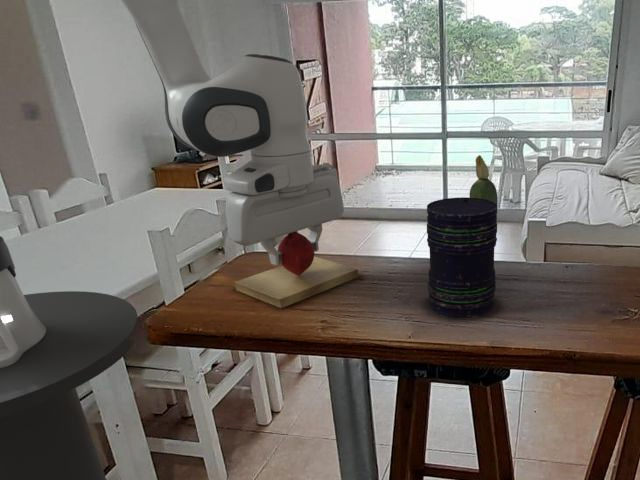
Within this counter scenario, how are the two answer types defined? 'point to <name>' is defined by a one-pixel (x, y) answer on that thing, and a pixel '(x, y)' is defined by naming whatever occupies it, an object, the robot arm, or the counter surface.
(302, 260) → the onion
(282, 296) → the cutting board
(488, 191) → the vegetable
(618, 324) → the counter surface
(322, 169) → the robot arm
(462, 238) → the storage jar
